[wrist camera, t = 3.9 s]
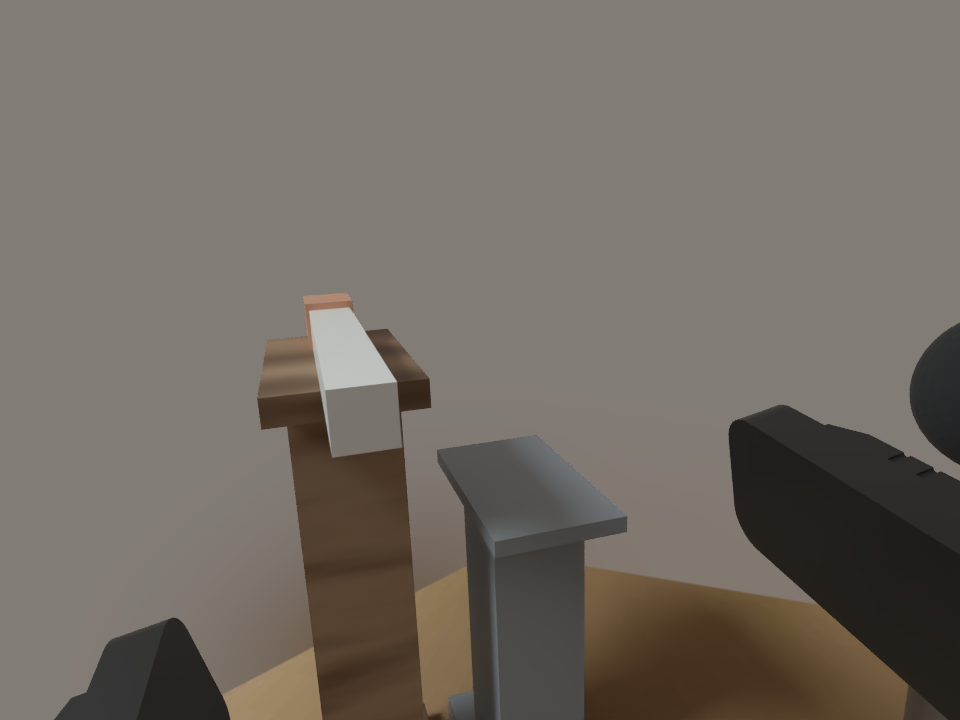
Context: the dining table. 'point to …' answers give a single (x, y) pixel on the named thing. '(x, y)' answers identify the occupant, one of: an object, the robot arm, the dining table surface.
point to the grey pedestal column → (525, 576)
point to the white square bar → (351, 379)
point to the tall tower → (352, 539)
